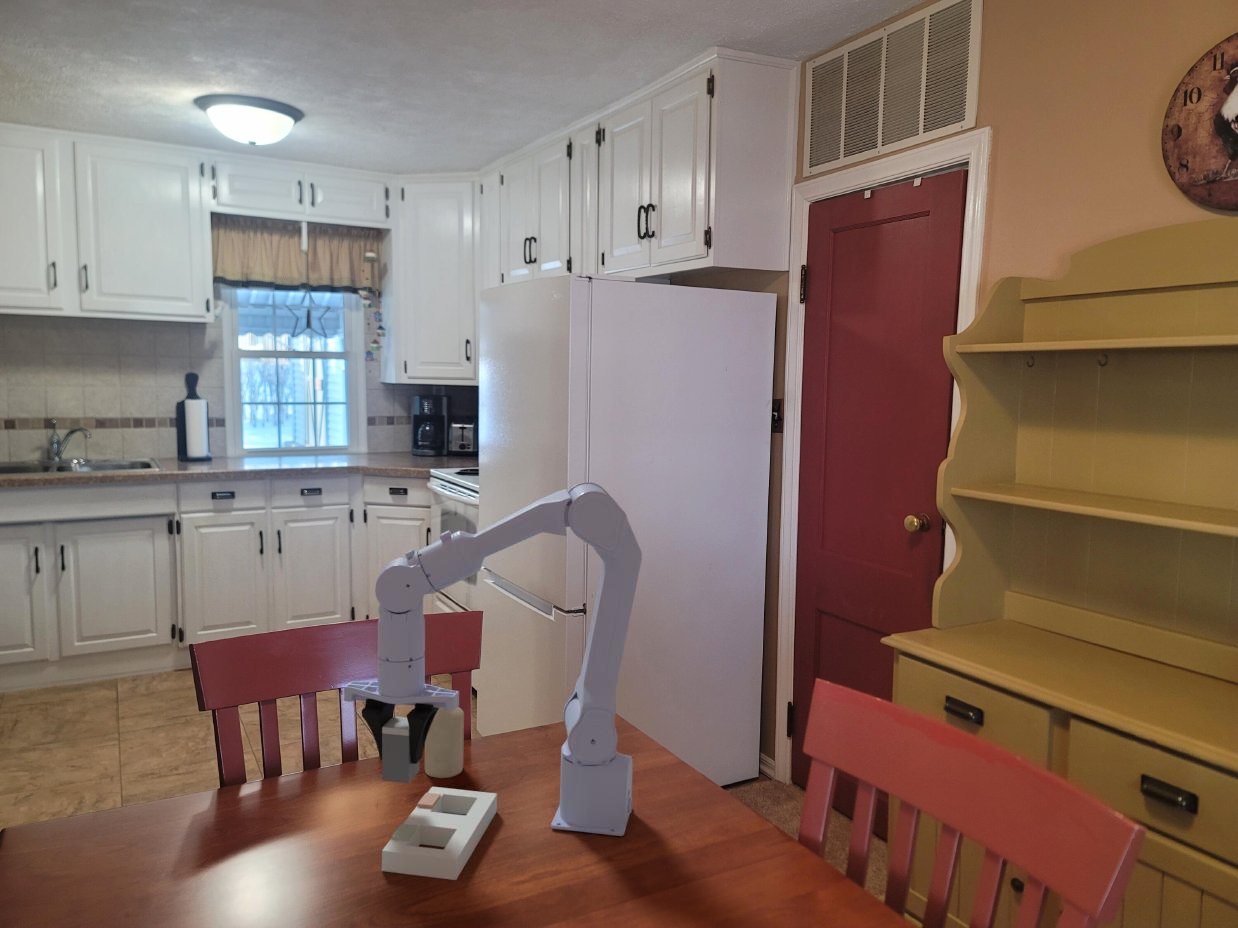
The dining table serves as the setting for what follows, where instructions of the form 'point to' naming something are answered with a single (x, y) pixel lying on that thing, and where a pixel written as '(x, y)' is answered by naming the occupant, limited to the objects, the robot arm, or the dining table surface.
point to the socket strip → (440, 833)
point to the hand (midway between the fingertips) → (401, 758)
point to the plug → (397, 752)
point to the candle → (445, 744)
